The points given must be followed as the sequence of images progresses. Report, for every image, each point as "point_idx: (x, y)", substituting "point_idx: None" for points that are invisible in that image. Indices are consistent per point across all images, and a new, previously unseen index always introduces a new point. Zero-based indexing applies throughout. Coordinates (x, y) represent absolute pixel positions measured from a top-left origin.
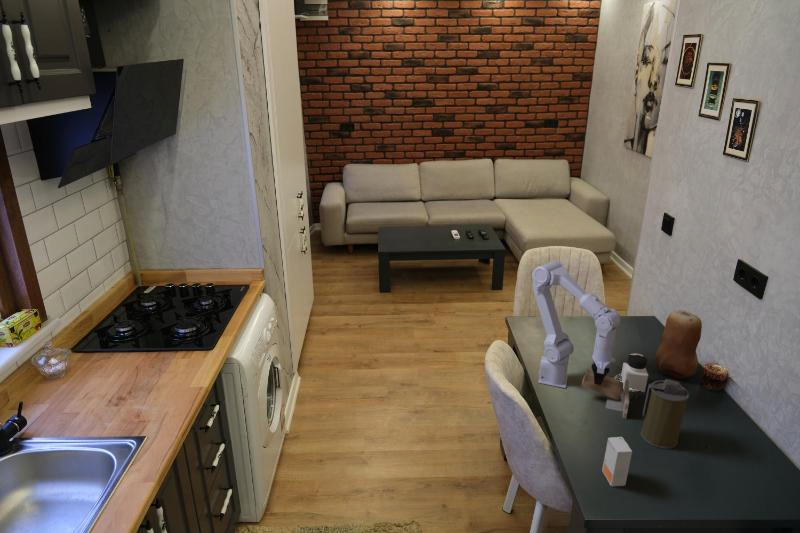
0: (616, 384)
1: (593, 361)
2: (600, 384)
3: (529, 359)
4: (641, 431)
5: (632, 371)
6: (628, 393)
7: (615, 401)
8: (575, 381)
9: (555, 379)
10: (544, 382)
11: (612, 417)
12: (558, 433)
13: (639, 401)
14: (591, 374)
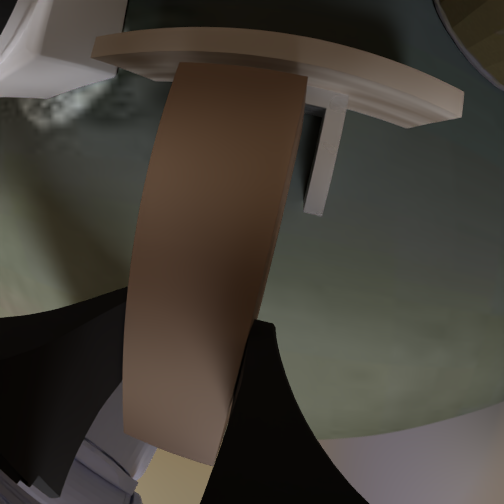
0: (266, 154)
1: (65, 476)
2: (274, 334)
3: None
4: (498, 83)
5: (26, 29)
6: (304, 39)
7: (327, 153)
8: None
9: None
10: None
11: (406, 187)
12: (466, 410)
13: (210, 4)
14: (191, 432)
